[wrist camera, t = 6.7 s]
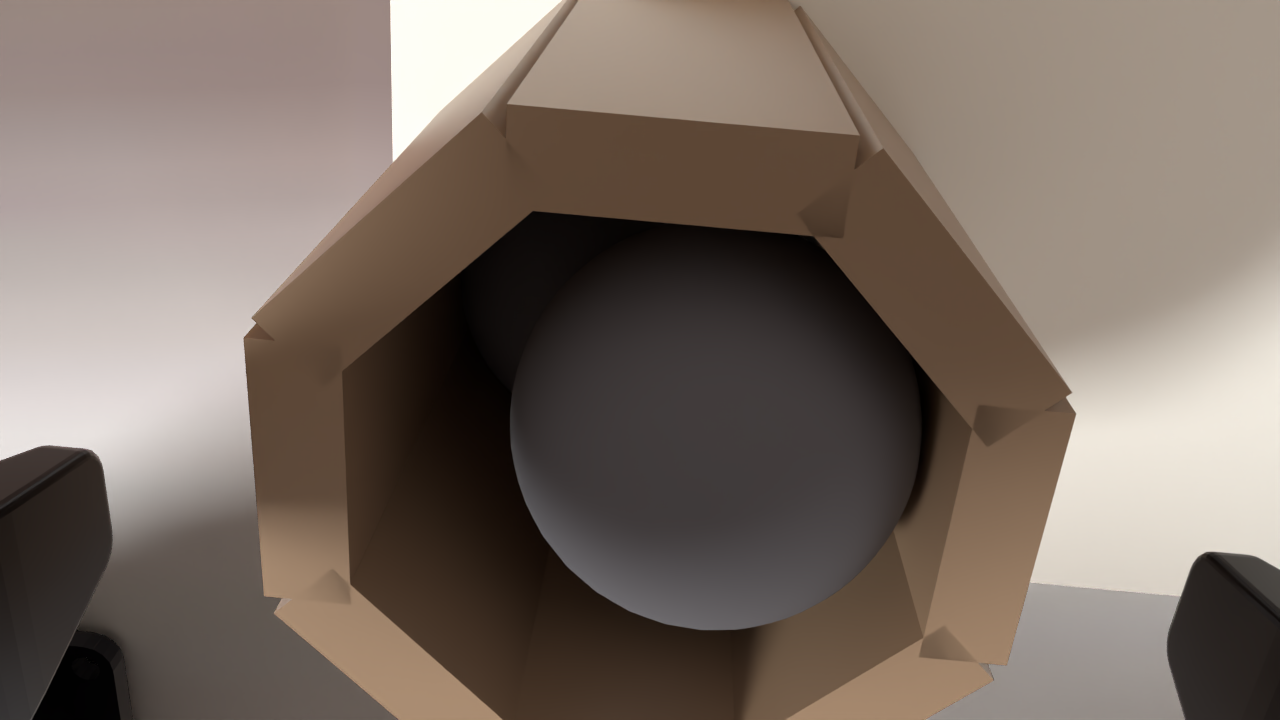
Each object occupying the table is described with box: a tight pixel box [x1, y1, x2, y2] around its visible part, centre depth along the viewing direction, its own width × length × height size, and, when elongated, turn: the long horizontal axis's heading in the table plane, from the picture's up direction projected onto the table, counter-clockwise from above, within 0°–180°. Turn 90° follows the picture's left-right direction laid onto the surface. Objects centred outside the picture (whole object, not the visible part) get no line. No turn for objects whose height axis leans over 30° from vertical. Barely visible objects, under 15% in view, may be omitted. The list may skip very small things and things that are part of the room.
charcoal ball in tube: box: [461, 211, 669, 393], centre depth 15 cm, size 4×4×4 cm
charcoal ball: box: [510, 223, 923, 630], centre depth 11 cm, size 4×4×4 cm
